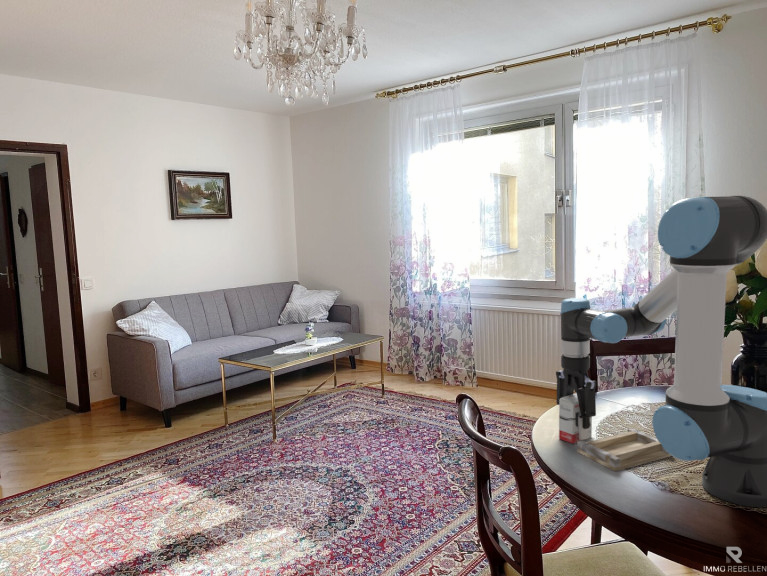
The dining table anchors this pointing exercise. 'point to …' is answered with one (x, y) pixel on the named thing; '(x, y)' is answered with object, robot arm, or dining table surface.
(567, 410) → the ink box
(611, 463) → the wooden tray
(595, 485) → the dining table surface
